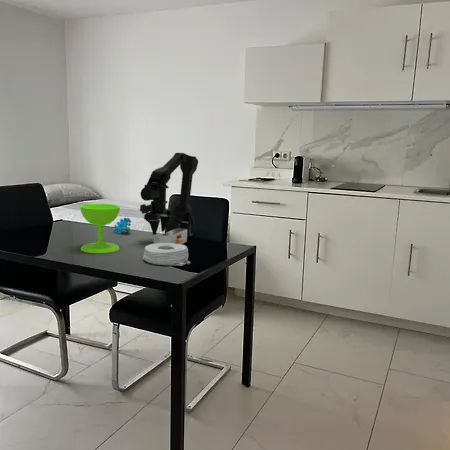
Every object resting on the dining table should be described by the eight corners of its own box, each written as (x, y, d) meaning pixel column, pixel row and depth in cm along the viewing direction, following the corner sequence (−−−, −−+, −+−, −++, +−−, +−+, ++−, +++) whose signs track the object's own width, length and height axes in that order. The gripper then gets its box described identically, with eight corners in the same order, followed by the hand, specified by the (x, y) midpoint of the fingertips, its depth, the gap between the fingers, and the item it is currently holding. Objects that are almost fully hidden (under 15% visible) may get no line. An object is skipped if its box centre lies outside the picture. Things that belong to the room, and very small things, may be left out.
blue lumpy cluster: (109, 228, 226) (123, 214, 229) (116, 235, 230) (129, 221, 233) (120, 235, 219) (134, 220, 221) (127, 242, 222) (140, 227, 225)
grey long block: (177, 240, 214) (177, 228, 213) (186, 241, 213) (187, 229, 212) (159, 248, 195) (159, 235, 194) (169, 250, 194) (170, 236, 193)
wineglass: (93, 255, 180) (93, 210, 177) (73, 247, 190) (72, 205, 187) (127, 249, 191) (127, 207, 188) (106, 242, 202) (106, 203, 199)
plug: (157, 242, 209) (158, 233, 208) (183, 245, 205) (183, 236, 204) (153, 243, 205) (153, 235, 205) (179, 247, 201) (179, 238, 200)
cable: (192, 266, 171) (192, 250, 170) (145, 267, 166) (145, 251, 165) (183, 255, 187) (184, 241, 186) (141, 256, 183) (141, 241, 182)
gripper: (152, 195, 214) (151, 228, 216) (133, 199, 196) (132, 234, 199) (174, 197, 210) (173, 230, 213) (156, 201, 193) (156, 237, 196)
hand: (158, 233), depth 205 cm, fingers open, 9 cm apart
